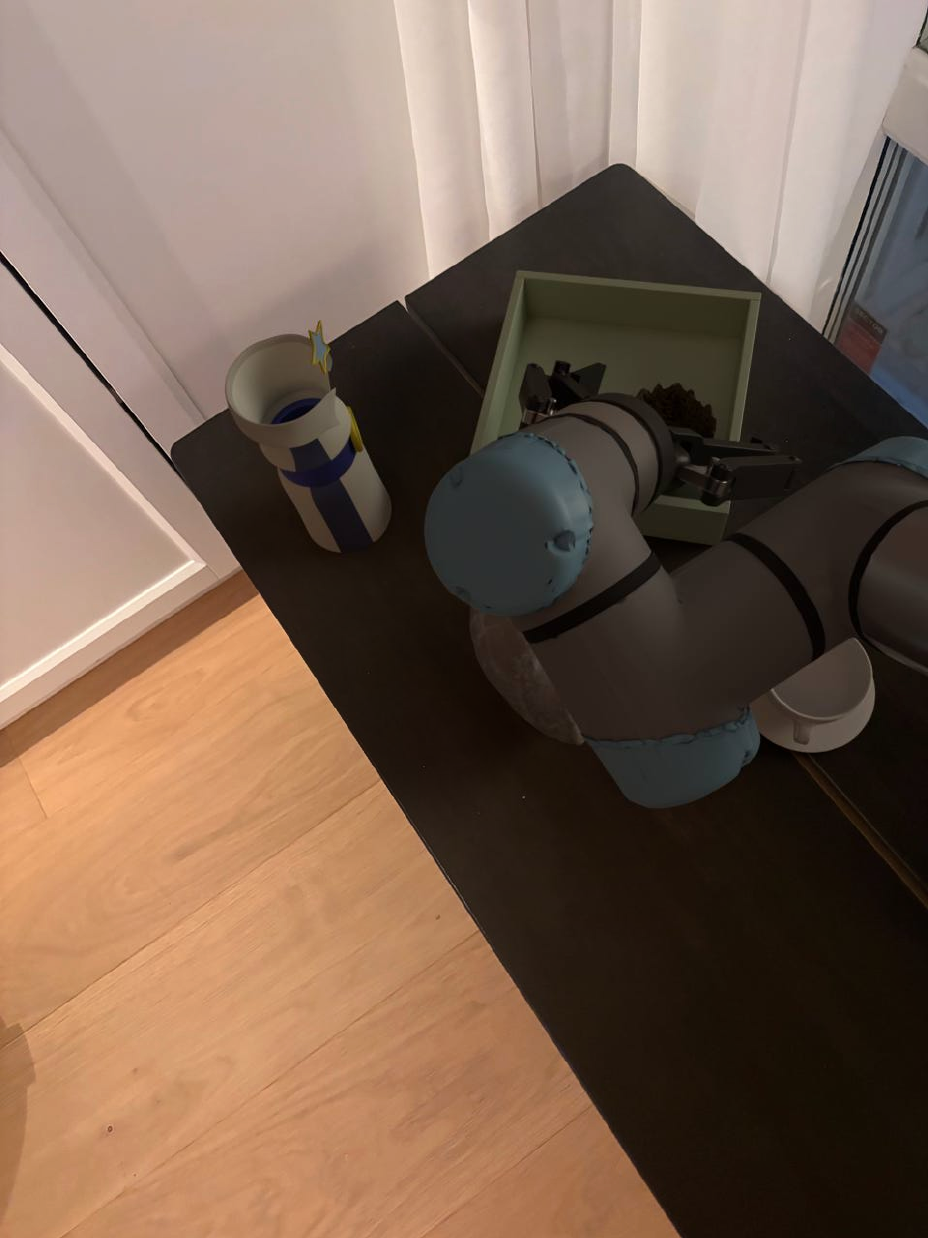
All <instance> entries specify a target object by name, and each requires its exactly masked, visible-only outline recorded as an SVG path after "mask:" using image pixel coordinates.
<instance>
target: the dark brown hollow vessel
mask: <svg viewBox="0 0 928 1238" xmlns="http://www.w3.org/2000/svg"><path fill="white" fill-rule="evenodd" d="M694 393H695V392H694V390H692V389H690V390H688V391H686V390H685V388H684V387H683V385H682V384H680V383H674V384H672V385H671V386H669V387H668V388H665V389H664V388H663V385H661V383H658V384H657V385H656V386H655V387H654V389H653V391H652V393H651V392H650V391H649V390H646V389H645V388H642V389H641V390H640V391H639V393H638V394H637V396H636V394H632V395H631V396H633V397H636V398H638V399H640V400H642V401H644V402H645V403H647V404H648V405H649V406H651V407H652V408H653V409H654V410H655V411H656V412H657V413H658V414H659V415H660V417H661V418H662V419H663V421H664V422H665V424H666V426H671V427H680V428H689V429H691V430H693V431H694V432H696V433H697V434H699V435H700V436H702V437H703V438H711V439H714V435H715V432H716V426H717V420H716V417H715V416H714V415H713V413H712V407H711V405H710V404H707V405H705V406H703V405H702V404H701V402H700V401H698V400H696V398H695V394H694ZM676 442H677V443H678V444H680V441H676ZM685 484H686V483H685ZM685 484H683V485H685ZM683 485H677V486H668V487H666V489H665V490H664V491H663V492H666V491H671V490H675V489H677V488H679V487H681V486H683Z"/></svg>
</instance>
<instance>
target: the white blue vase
mask: <svg viewBox="0 0 928 1238" xmlns="http://www.w3.org/2000/svg"><path fill="white" fill-rule="evenodd" d="M307 332H308V336H309V337H308V336H305V335H302V334H297V333H284V334H277V335H275V336H274V335H273V336H271V337H268V338H265V339H262V340H259V341H257V342H255V343H253V344H251V345H249V346H248V347H246V348H245V349H244V350H242V351H241V352H240V353H239V354H238V356H237V357H236V358H235V359H234V360H233V362H232V364H231V365H230V367H229V369H228V371H227V374H226V378H225V384H224V394H225V399H226V403H227V407H228V410H229V412H230V415H231V417H232V419H233V421H234V423H235V424H236V426H237V427H238V428H239V430H240V432H242V433H243V434H244V435H245V436H246V437H248V438H249V439H250V440H252V441H254V442H256V443H258V445H259V448H260V451H261V452H262V454H263V456H264V457H265V458H266V460H267V461H268V462H270V463H271V464H272V465H273V466H275V467H276V469H277V475H278V477H279V480H280V482H281V485H282V487H283V489H284V491H285V492H286V494H287V495H288V497H289V499H290V501H291V502H292V504H293V506H294V507H295V509H296V510H297V512H298V514H299V516H300V518H301V520H302V522H303V524H304V526H305V528H306V530H307V532H308V534H309V535H310V537H311V539H312V540H313V541H314V542H315V543H316V544H317V545H318V546H319V547H321V548H323V549H324V550H327V551H330V552H334V553H340V554H346V553H347V554H348V553H354V552H357V551H361V550H364V549H365V548H368V547H369V546H371V545H372V544H374V543H375V542H376V541H377V540H379V539H380V538H381V536H382V535H383V534H384V533H385V531H386V530H387V528H388V526H389V524H390V521H391V519H392V511H393V510H392V509H393V507H392V500H391V497H390V494H389V493H388V491H387V489H386V487H385V485H384V483H383V482H382V480H381V478H380V476H379V474H378V472H377V470H376V468H375V467H374V464H373V462H372V460H371V458H370V455H369V453H368V451H367V449H366V447H365V446H364V443H363V439H362V436H361V433H360V430H359V427H358V424H357V421H356V417H355V415H354V412H353V411H352V408H351V407H350V406H348V405H346V404H345V403H344V402H343V401H342V400H341V399H340V398H339V397H338V396H337V395H336V392H337V388H336V387H333V388H332V389H331V385H330V383H331V382H330V379H329V377H330V376H329V372H331V369H332V366H333V358H332V357H331V355H330V351H331V348H330V347H329V345H328V344H327V343H326V342H325V340H324V331H323V323H322V320H321V319H320V320H318V321H317V325H316V329H315V331H313V330H311V329H308V331H307Z"/></svg>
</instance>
